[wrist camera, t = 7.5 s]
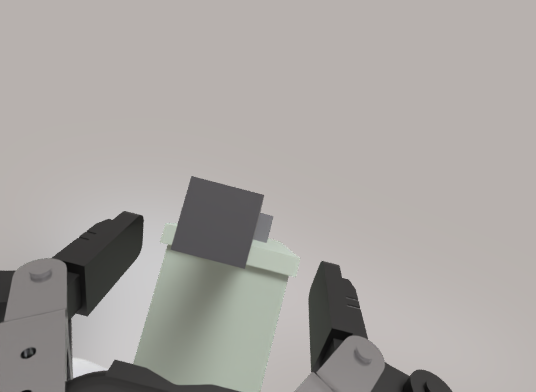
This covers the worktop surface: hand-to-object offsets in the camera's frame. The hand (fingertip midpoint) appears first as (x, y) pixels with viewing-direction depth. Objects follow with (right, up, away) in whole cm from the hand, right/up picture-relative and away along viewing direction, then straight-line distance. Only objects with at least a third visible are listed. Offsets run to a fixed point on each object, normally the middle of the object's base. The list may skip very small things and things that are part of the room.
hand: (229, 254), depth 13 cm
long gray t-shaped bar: (-1, -1, +11) cm, 12 cm away
